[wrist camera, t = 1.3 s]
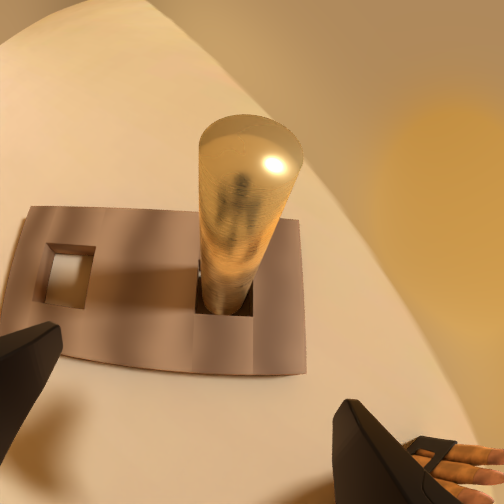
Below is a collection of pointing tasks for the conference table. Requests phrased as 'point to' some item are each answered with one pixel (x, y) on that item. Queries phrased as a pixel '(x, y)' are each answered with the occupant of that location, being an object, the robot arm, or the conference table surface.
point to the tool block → (157, 294)
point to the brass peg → (241, 202)
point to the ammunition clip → (459, 466)
